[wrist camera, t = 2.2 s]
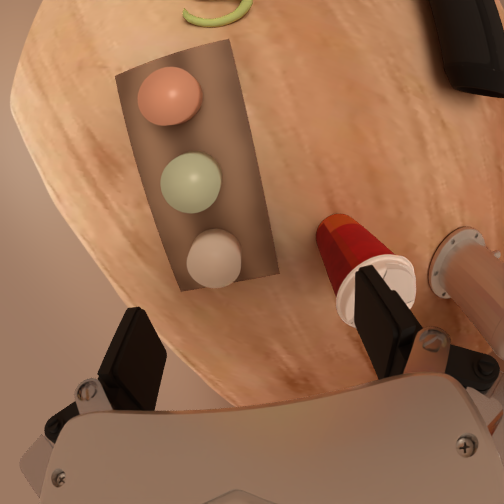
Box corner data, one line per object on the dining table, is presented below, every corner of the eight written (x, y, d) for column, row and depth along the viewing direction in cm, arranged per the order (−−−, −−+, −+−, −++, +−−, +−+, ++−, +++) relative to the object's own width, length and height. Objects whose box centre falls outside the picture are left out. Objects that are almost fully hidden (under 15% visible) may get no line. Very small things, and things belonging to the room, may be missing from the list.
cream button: (234, 224, 28) (233, 235, 25) (246, 268, 30) (246, 283, 27) (185, 234, 28) (179, 246, 25) (199, 277, 30) (195, 291, 28)
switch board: (230, 46, 23) (229, 38, 21) (277, 261, 35) (279, 273, 32) (126, 78, 24) (114, 76, 21) (185, 278, 36) (181, 291, 33)
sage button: (215, 144, 24) (211, 147, 22) (228, 197, 26) (226, 206, 24) (162, 159, 24) (153, 163, 22) (177, 209, 27) (170, 219, 24)
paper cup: (334, 272, 36) (371, 348, 23) (294, 238, 33) (321, 312, 21) (377, 231, 33) (434, 293, 21) (339, 191, 31) (395, 242, 18)
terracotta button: (196, 65, 20) (190, 59, 18) (208, 116, 23) (203, 115, 20) (143, 82, 21) (132, 79, 18) (155, 131, 23) (145, 133, 21)
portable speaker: (390, -62, 13) (421, -89, 4) (442, -42, 13) (477, -59, 4) (431, 86, 24) (484, 85, 16) (479, 96, 24) (528, 103, 15)
